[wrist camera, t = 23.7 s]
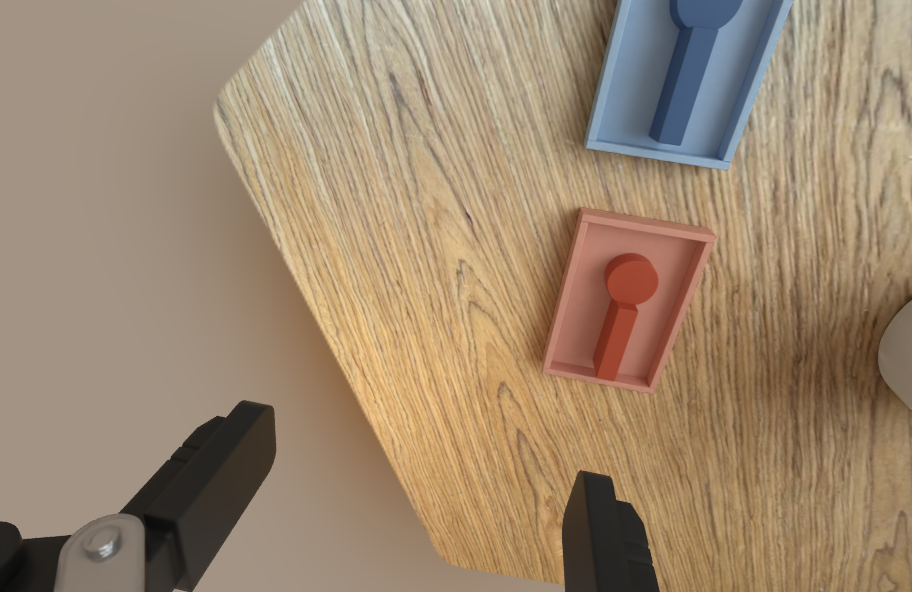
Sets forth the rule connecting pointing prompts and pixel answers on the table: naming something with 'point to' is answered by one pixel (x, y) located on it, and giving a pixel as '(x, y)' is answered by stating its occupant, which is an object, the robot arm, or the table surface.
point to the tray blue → (644, 72)
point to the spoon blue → (688, 63)
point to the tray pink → (587, 299)
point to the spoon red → (622, 309)
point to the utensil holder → (898, 354)
